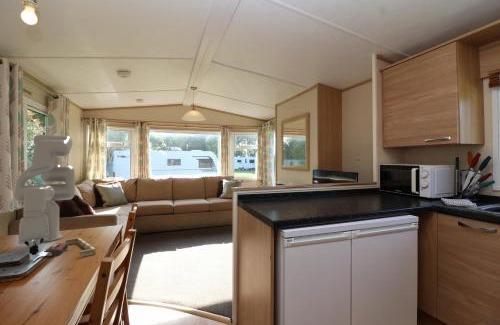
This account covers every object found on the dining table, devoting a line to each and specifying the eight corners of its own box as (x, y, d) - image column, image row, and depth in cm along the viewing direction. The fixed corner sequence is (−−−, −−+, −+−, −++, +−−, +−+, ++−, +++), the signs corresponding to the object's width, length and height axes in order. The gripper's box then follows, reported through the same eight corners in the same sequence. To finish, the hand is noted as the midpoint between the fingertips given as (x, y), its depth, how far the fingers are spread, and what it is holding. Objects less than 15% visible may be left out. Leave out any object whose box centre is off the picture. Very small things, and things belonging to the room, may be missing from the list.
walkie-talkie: (48, 249, 124) (30, 264, 106) (48, 241, 124) (30, 254, 106) (69, 247, 128) (55, 261, 109) (69, 239, 128) (55, 251, 109)
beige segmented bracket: (65, 244, 131) (65, 239, 131) (79, 242, 136) (79, 237, 136) (80, 257, 113) (80, 251, 113) (95, 253, 118) (95, 248, 118)
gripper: (53, 210, 120) (52, 248, 119) (11, 215, 109) (10, 256, 108) (56, 212, 115) (56, 252, 114) (12, 217, 104) (11, 261, 103)
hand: (33, 254), depth 111 cm, fingers closed
